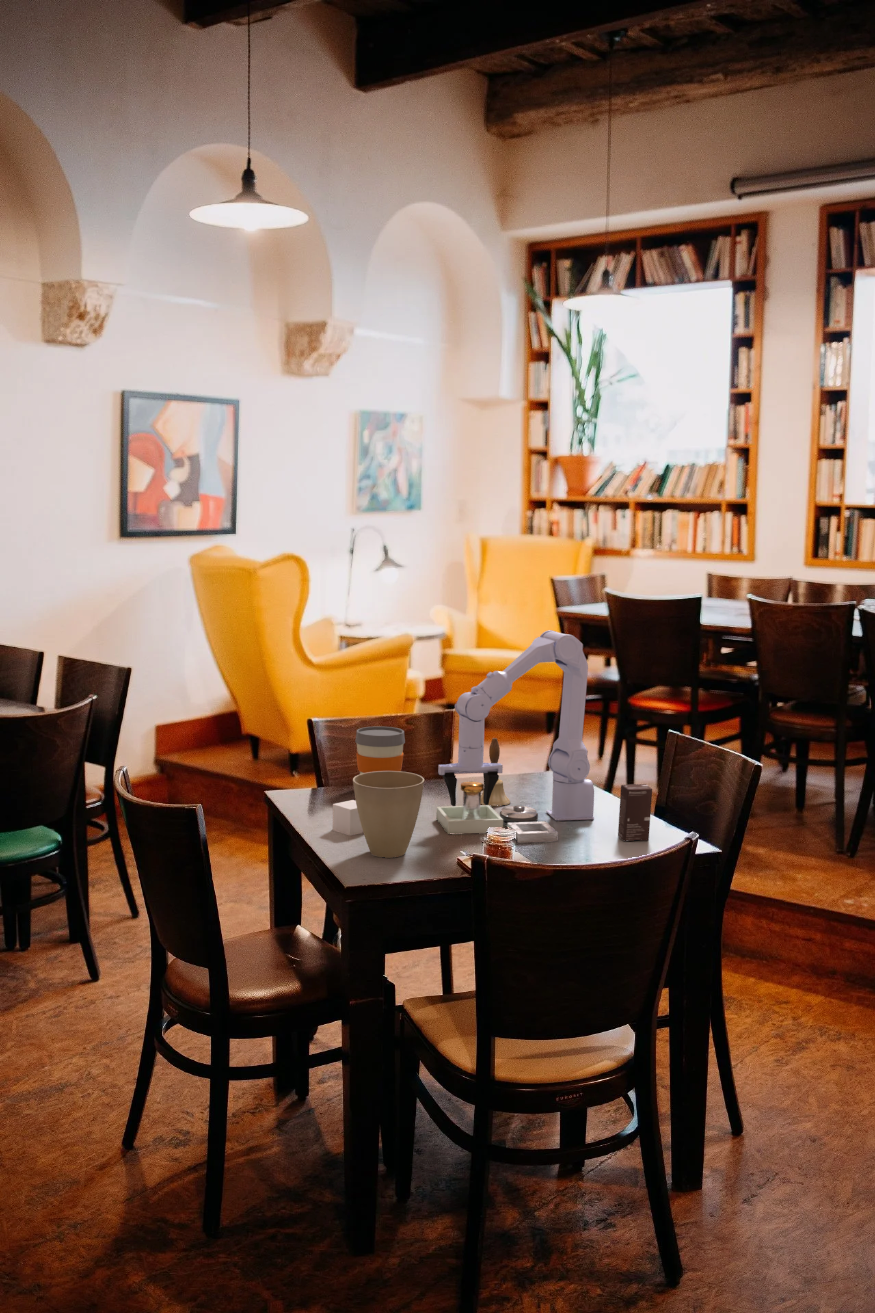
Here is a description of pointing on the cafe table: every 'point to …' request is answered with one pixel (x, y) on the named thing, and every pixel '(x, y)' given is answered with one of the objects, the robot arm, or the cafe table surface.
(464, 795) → the jar with gold lid
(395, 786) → the plant pot
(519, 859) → the cafe table surface
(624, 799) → the box
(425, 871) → the cafe table surface
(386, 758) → the reusable coffee cup
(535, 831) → the tensioner bracket
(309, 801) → the cafe table surface
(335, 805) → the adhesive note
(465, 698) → the robot arm
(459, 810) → the parts tray
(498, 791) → the hand bell
